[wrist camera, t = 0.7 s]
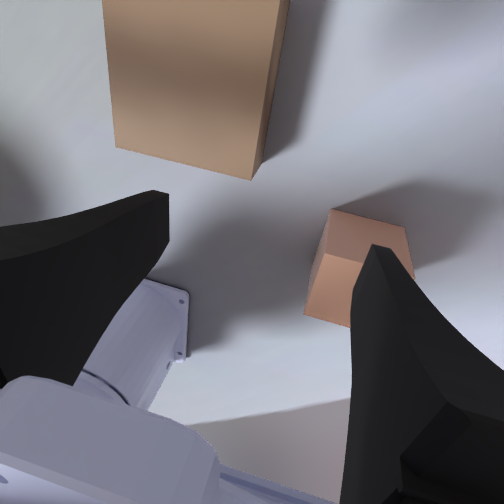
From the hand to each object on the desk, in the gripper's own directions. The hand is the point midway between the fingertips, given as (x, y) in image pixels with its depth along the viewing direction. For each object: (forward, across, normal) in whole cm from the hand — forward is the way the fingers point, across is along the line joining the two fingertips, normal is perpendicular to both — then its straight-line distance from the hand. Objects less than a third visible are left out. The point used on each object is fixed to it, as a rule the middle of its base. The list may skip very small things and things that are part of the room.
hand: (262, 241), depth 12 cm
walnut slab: (+10, +6, -3) cm, 12 cm away
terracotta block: (+10, -5, +5) cm, 12 cm away
